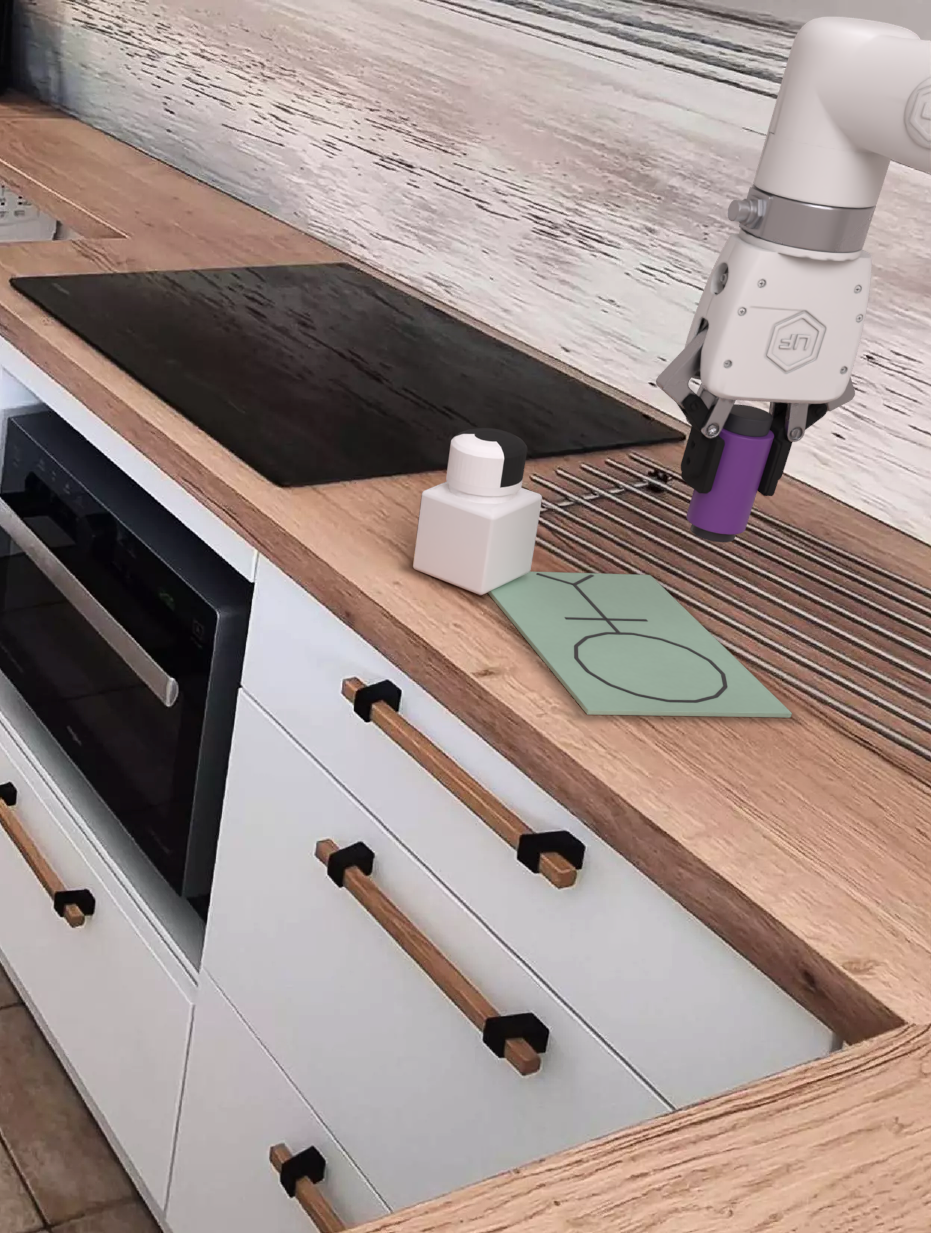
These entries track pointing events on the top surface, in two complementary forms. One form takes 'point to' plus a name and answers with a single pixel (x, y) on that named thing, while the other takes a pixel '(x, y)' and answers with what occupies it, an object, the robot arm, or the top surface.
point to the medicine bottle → (479, 514)
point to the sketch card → (630, 647)
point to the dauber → (734, 476)
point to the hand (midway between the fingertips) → (726, 484)
